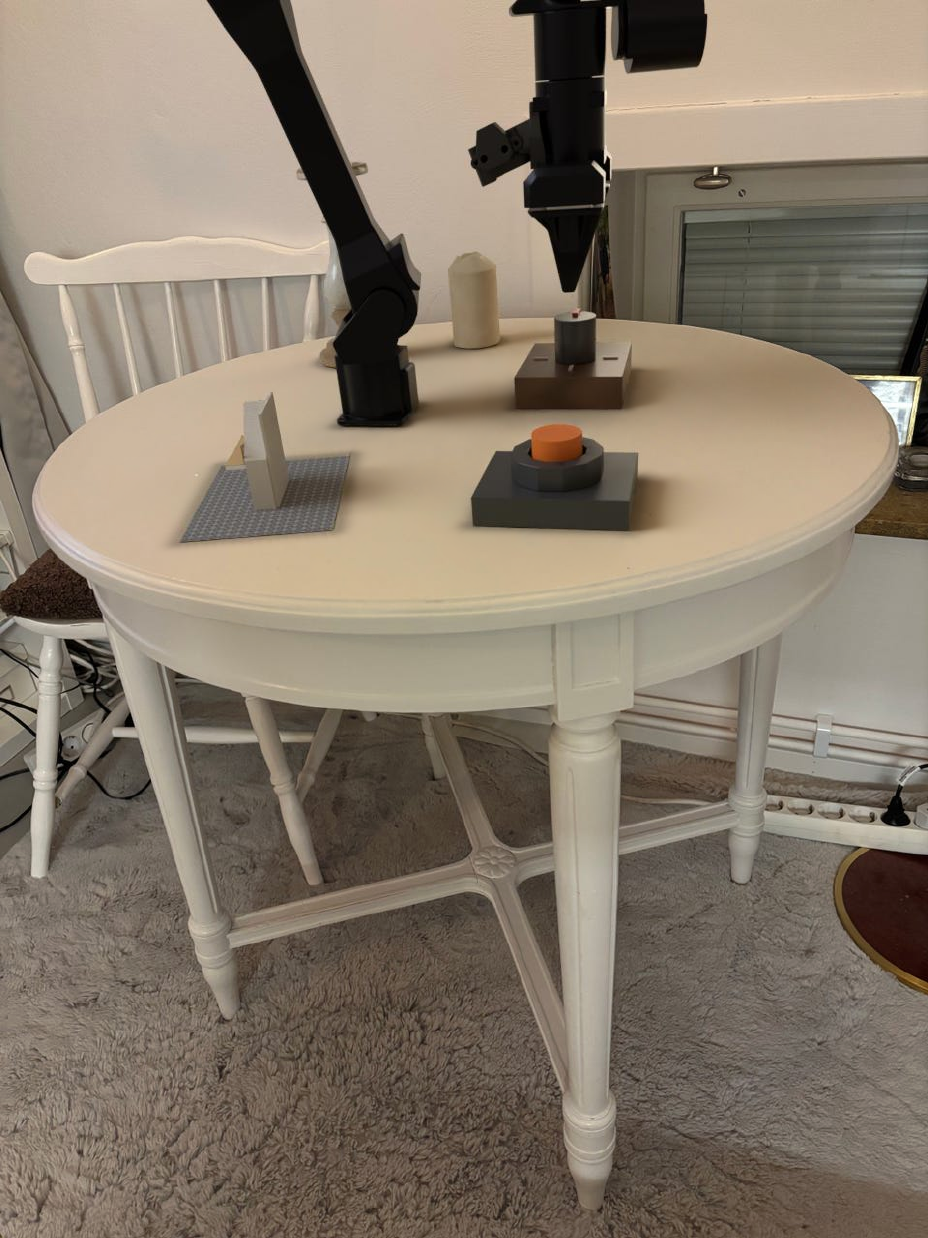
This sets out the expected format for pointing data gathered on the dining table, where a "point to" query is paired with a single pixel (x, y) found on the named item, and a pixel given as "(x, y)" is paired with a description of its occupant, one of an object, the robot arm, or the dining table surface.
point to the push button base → (557, 490)
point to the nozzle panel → (574, 379)
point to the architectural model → (268, 486)
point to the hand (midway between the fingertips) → (572, 280)
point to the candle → (474, 301)
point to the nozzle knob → (575, 337)
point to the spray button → (556, 443)
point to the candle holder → (335, 278)
